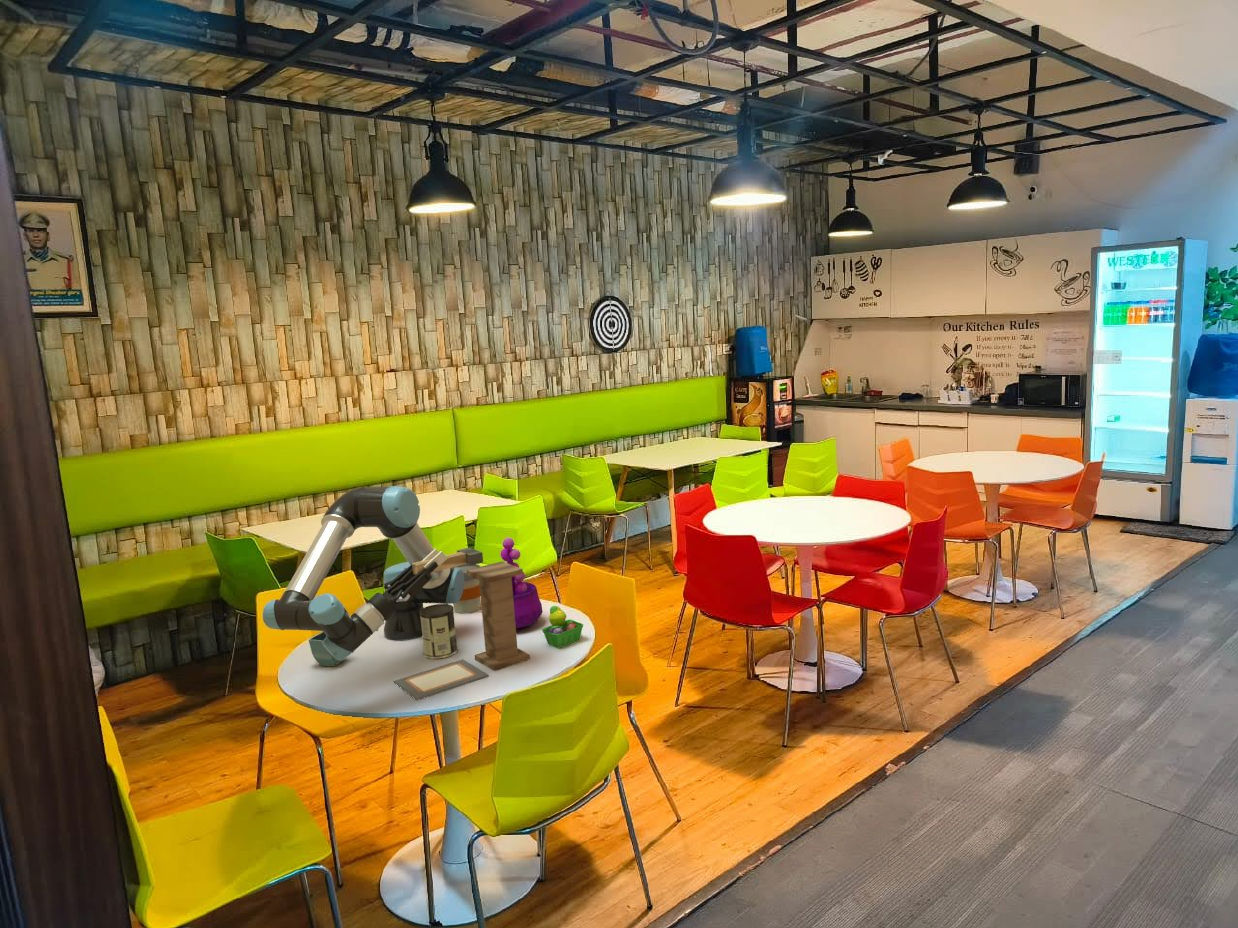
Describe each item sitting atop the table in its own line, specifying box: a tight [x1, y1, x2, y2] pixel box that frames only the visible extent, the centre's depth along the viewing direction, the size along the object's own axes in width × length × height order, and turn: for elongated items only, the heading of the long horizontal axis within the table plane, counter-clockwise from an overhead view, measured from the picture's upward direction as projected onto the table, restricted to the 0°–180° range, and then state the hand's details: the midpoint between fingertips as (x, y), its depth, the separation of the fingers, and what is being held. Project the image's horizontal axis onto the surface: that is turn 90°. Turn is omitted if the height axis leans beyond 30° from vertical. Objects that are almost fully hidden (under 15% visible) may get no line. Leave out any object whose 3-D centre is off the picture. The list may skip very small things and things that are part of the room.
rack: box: [467, 560, 531, 672], centre depth 251 cm, size 12×12×28 cm
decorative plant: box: [499, 537, 543, 629], centre depth 279 cm, size 19×18×30 cm
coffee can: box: [419, 603, 458, 660], centre depth 261 cm, size 10×10×14 cm
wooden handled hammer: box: [412, 547, 484, 575], centre depth 238 cm, size 8×19×3 cm, turn 128°
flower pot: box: [308, 631, 344, 667], centre depth 258 cm, size 9×9×9 cm
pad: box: [392, 658, 490, 701], centre depth 241 cm, size 16×22×1 cm
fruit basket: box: [541, 605, 584, 649], centre depth 264 cm, size 11×9×11 cm
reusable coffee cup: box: [452, 564, 482, 615], centre depth 300 cm, size 13×13×15 cm
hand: (441, 553), depth 237 cm, fingers closed on wooden handled hammer, 3 cm apart
